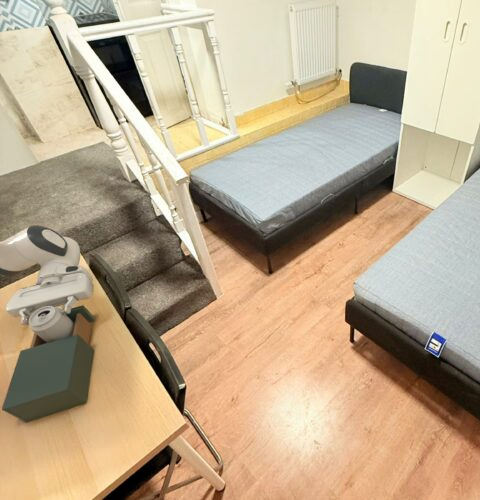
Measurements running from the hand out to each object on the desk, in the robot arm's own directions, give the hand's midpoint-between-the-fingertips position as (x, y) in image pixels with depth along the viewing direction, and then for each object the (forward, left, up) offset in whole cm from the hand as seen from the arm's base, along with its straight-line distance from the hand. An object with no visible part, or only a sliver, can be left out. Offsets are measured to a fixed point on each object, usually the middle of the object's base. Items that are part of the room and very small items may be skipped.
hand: (45, 317), depth 89 cm
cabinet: (0, -13, -12) cm, 18 cm away
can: (0, 0, -11) cm, 11 cm away
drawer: (0, -1, -11) cm, 12 cm away
